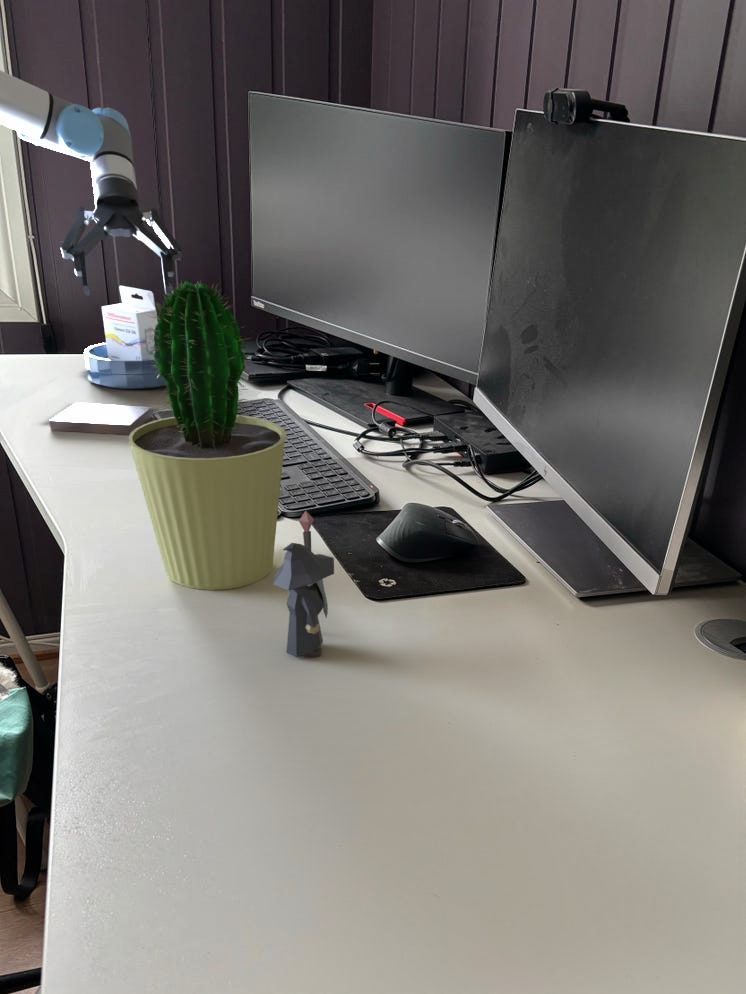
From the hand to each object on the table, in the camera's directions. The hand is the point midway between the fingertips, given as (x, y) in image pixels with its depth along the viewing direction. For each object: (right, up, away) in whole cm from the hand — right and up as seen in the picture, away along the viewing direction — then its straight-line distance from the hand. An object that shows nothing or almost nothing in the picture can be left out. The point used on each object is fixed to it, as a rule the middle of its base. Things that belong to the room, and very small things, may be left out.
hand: (127, 290), depth 169 cm
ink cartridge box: (+1, -15, +1) cm, 15 cm away
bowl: (+1, -15, +1) cm, 15 cm away
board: (+5, -29, -22) cm, 37 cm away
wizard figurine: (+46, -63, -79) cm, 111 cm away
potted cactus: (+34, -54, -65) cm, 91 cm away
